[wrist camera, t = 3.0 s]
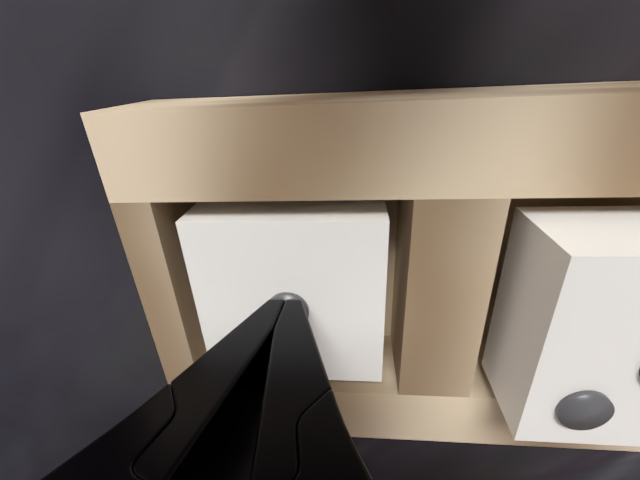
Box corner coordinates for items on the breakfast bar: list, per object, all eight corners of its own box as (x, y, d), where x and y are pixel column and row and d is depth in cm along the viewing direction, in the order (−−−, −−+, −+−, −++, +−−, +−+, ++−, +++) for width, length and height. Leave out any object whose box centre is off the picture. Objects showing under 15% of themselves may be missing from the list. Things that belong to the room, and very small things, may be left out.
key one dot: (381, 187, 10) (390, 223, 8) (376, 326, 12) (381, 385, 10) (211, 189, 10) (172, 224, 8) (236, 323, 13) (210, 379, 10)
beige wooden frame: (1183, 59, 8) (1614, 56, 5) (883, 382, 12) (1031, 471, 10) (152, 100, 10) (80, 112, 7) (214, 360, 14) (182, 428, 12)
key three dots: (751, 204, 8) (912, 261, 6) (663, 369, 10) (753, 458, 8) (515, 206, 8) (575, 260, 6) (481, 363, 11) (516, 446, 8)
